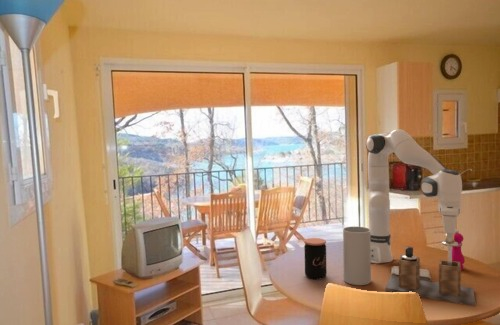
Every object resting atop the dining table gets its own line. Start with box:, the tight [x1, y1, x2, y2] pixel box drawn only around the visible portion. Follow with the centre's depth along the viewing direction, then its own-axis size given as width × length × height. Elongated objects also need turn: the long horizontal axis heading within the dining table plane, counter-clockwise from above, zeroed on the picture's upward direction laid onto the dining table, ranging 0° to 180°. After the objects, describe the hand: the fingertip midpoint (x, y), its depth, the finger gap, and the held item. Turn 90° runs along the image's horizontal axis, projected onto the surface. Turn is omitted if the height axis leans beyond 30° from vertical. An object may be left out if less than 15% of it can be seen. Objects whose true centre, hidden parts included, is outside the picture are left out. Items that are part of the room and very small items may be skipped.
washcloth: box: [390, 265, 432, 282], centre depth 181 cm, size 12×18×3 cm, turn 67°
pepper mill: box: [452, 229, 466, 271], centre depth 189 cm, size 7×7×20 cm
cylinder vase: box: [342, 225, 372, 286], centre depth 175 cm, size 12×12×25 cm
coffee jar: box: [303, 237, 328, 280], centre depth 184 cm, size 11×11×18 cm
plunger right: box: [441, 234, 458, 266], centre depth 157 cm, size 6×6×15 cm
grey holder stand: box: [385, 254, 476, 307], centre depth 162 cm, size 34×16×14 cm, turn 61°
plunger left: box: [401, 246, 418, 261], centre depth 165 cm, size 6×6×15 cm
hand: (449, 239), depth 157 cm, fingers closed on plunger right, 3 cm apart
